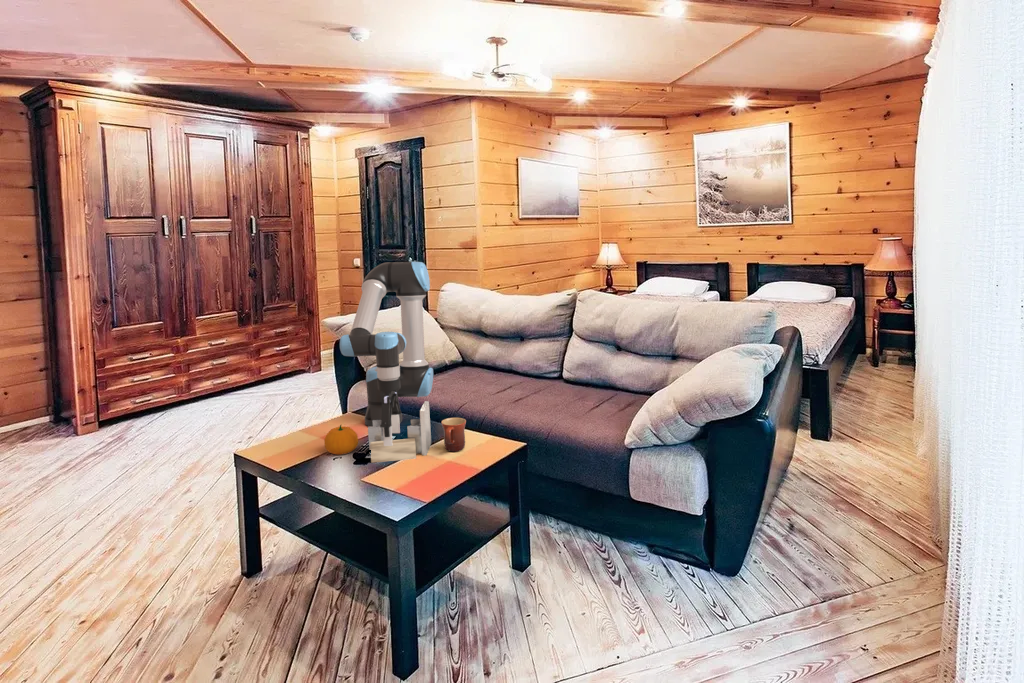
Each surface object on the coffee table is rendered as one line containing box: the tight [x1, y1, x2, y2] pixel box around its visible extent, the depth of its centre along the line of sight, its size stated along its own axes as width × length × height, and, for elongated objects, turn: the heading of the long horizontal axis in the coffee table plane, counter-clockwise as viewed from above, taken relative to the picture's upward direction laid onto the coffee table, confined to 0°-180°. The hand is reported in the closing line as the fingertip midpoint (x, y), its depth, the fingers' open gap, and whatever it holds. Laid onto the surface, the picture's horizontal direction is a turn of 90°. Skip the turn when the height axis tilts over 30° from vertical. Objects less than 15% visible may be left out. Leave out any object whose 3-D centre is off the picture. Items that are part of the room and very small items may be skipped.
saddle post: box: [367, 420, 384, 451], centre depth 218 cm, size 8×4×10 cm, turn 0°
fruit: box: [324, 424, 359, 456], centre depth 218 cm, size 12×12×10 cm
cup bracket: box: [406, 400, 432, 456], centre depth 217 cm, size 12×6×16 cm, turn 0°
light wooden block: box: [370, 438, 417, 464], centre depth 211 cm, size 4×15×6 cm, turn 101°
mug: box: [441, 417, 467, 453], centre depth 216 cm, size 12×9×10 cm
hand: (392, 439), depth 209 cm, fingers open, 13 cm apart
